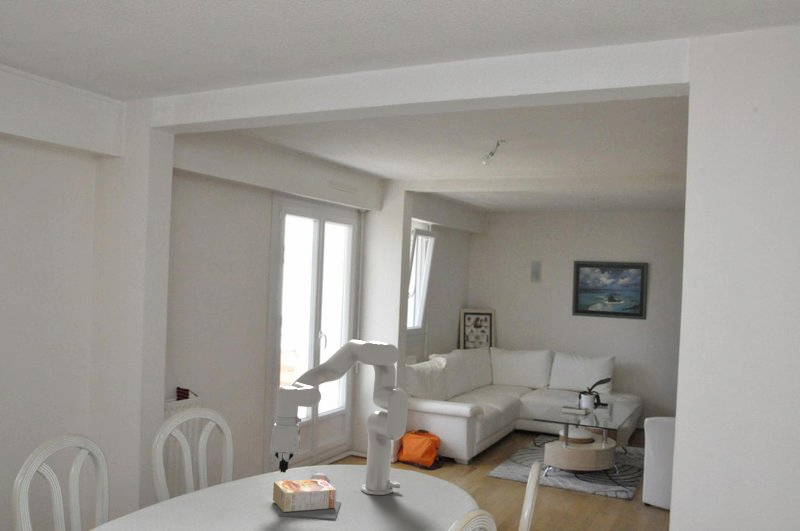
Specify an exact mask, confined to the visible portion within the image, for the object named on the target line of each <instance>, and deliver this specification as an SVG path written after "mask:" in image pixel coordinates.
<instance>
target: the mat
mask: <svg viewBox="0 0 800 531" xmlns="http://www.w3.org/2000/svg"><path fill="white" fill-rule="evenodd" d="M341 503H342V502H341V501H336V505H335V508H329V509H316V510H303V511H291V512H283V510H282V509H281V508H280V511H279V512H278V517H287V518H300V519H301V518H302V519H313V520H314V519H315V520H327V521H328V520H329V521H336V519H337V516H338V513H339V510H340V508H341Z"/></svg>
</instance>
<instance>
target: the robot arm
mask: <svg viewBox="0 0 800 531" xmlns="http://www.w3.org/2000/svg"><path fill="white" fill-rule="evenodd" d="M399 358H400V351H399V349H398V348H397V346H396V345H394V344H392V343H386V342H382V341H377V340H370V341H366V340H365V341H364V340H359V339H351V340H348V341H347V342H346V343H345V344H343V346H342V347H339V349H338V350H337V351H336V352H335V353H334V354H332V355H331V357H329V358H328V359H327V360H326V361H324V362H322V363H320V364H318V365H316V366H315V367H313V368H310V369H308V370H306V372H304V373H302V375H300V376H299V377H298V378H297V379H296V380H295V381H294V382H293V383H292V384H291V385H283V386H280V387H279V388H278V391H277V403H276V419H275V420H276V421H275V423H274V424H273V428H272V433H271V438H270V439H271V440H270V450H269V454H270V455H271V456H275V457H276V459H278V461H279V465H278V470H279V471H280V473H283V474H284V473H286V472H287V471H288V469H289V461H290V460H291V459H292V458H295V457H298V456H300V445H301V433H300V432H301V431H300V424H298V423H302V418H299V416H298V414H299V407H302V408H303V407H305V408H313V407H316V406H317V405H318V404H319V403H321V402H320V401H321V400H322V394H321V392H320V390H319V389H318V388H316V387H318V386H319V385H321V384H326V383H330V382H334V381H335V382H336V381H338V380H340V379H342V378H343V377H344V376H346V374H347V373H348V372H349V371H350V370H351V369H352V368H353V367H354V366H355V365H356V364H362V365H368V366H372V367H373V371H374V382H373V394H372V395H373V396H372V401H373V404H374V405H375V406H376V407H378V408H381V409H383V410H387V412H386V411H382V410H375V411H373V412H371V413H370V414H369V415H368V418H367V421H366V431H367V452H366V453H367V454H366V468H365V472H366V473H365V483H364V484H362V485H361V487H360V489H361V491H362V492H363V493H365V494H369V495H372V496H373V495H374V496H385V495H390V494H392V493H393V490H394V489H401V483H399V482H398V481H392V480H391V477H390V476H391V472H390V471H391V462H392V460H391V459H392V441H399V440H400V439H401V438H402V437H404V436H405V433H406V429H407V424H408V423H407V422H408V413H409V412H408V411H409V397H408V395H407V392H406V391H405V390H404V389H402V388H400V387H397V385H396V382H397V379H396V378H397V377H396V376H397V371H396V366H395V364H396V363H397V362H398V360H399ZM284 454H285V457H284Z"/></svg>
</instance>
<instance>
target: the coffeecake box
mask: <svg viewBox="0 0 800 531" xmlns="http://www.w3.org/2000/svg"><path fill="white" fill-rule="evenodd" d="M272 501H273V502H274V503H275V504H276V505H277V506H278V507H279V508H280V510H281V509H282V510H283V512H291V511H303V510H316V509H329V508H335V505H336V502H337V489H336V488H335V487H334V486H332V484H331V483H330V484H329V483H328V482H327V481H326V480H324V479H313V480H309V479H300V480H299V479H297V480H285V481H284V480H282V481H281V480H280V481H279V480H278V481H273V492H272Z"/></svg>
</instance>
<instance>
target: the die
mask: <svg viewBox="0 0 800 531" xmlns="http://www.w3.org/2000/svg"><path fill="white" fill-rule="evenodd" d="M313 479H324V480H326V481H327V482H328V483H329V484H330V485H331V483H330V481H331V480H330V479H329V477H328V476H327V475H326V474H324V473H322V472H316V473H314V474H312V475H310V478H309V479H308V480H313Z"/></svg>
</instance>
